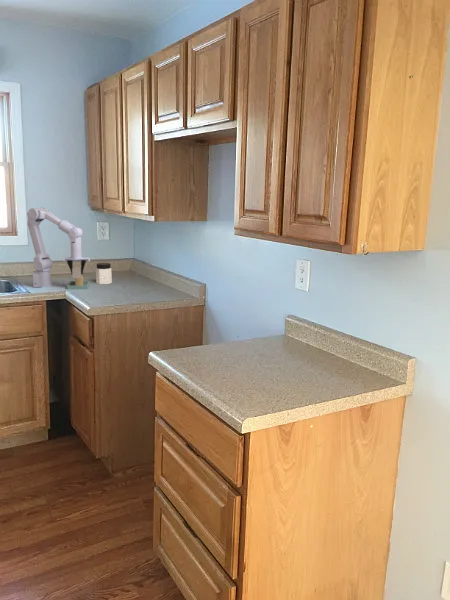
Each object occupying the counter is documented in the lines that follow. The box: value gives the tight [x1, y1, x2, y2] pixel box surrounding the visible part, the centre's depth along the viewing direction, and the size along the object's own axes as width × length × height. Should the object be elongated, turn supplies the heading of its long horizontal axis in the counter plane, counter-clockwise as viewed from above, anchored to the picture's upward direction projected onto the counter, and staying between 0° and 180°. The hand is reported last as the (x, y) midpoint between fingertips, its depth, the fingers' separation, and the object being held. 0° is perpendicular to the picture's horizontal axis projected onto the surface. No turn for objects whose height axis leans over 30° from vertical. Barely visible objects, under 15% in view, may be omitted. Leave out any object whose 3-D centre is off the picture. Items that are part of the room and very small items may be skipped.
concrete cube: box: [71, 266, 83, 279], centre depth 289 cm, size 5×5×6 cm
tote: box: [66, 280, 91, 290], centre depth 294 cm, size 11×15×2 cm
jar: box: [95, 262, 113, 285], centre depth 307 cm, size 9×8×12 cm
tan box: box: [74, 275, 84, 286], centre depth 298 cm, size 4×4×5 cm
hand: (77, 274), depth 289 cm, fingers closed on concrete cube, 5 cm apart
